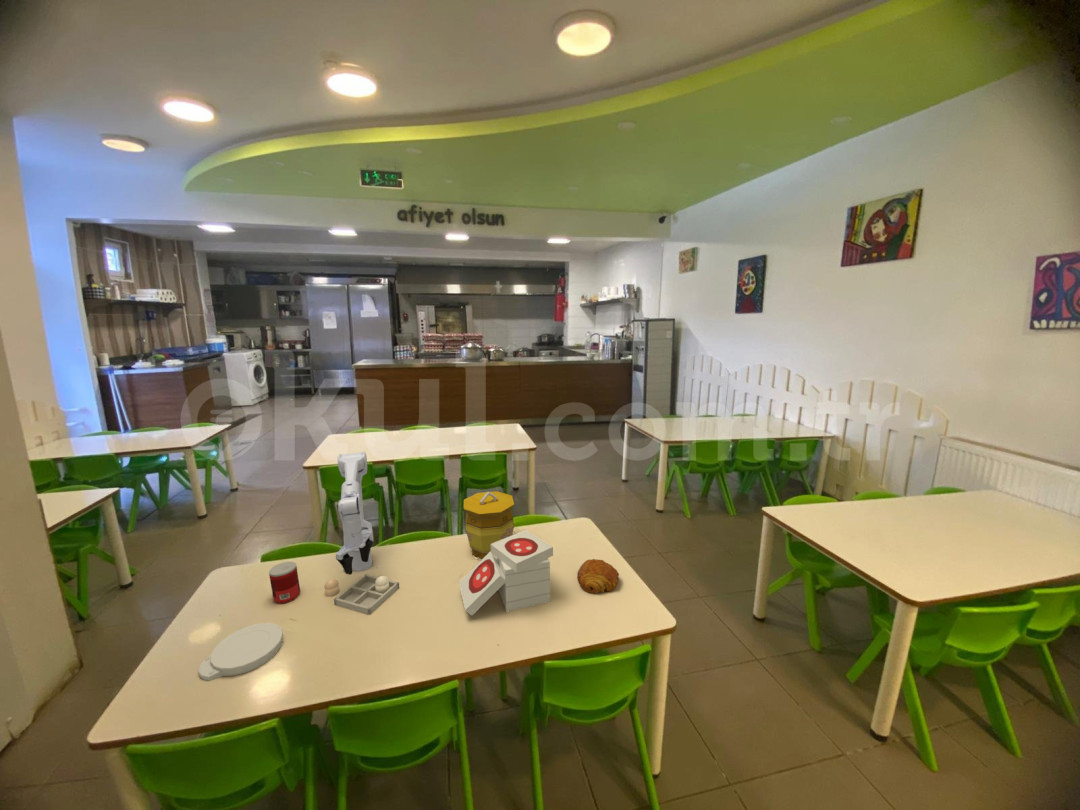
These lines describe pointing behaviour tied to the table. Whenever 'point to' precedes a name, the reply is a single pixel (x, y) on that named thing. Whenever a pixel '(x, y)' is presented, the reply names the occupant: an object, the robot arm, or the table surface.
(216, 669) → the lid
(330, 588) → the brown egg
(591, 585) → the croissant
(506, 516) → the container
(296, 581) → the canned food
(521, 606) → the stacked pizza boxes
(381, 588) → the cream egg
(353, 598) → the egg carton
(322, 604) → the table surface
